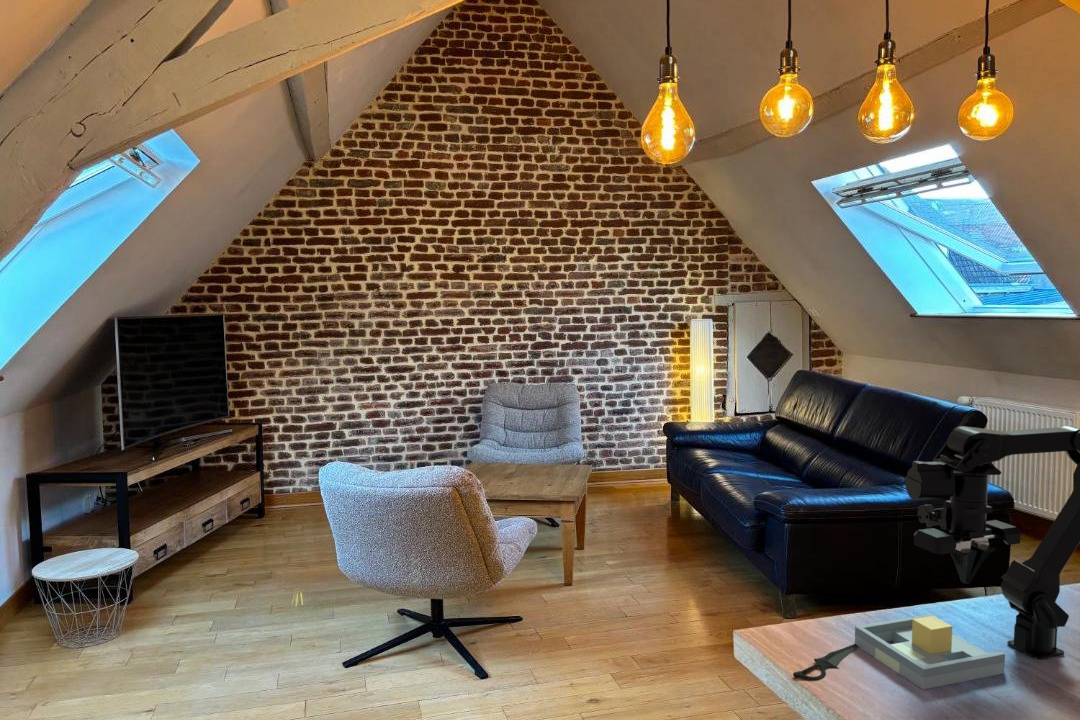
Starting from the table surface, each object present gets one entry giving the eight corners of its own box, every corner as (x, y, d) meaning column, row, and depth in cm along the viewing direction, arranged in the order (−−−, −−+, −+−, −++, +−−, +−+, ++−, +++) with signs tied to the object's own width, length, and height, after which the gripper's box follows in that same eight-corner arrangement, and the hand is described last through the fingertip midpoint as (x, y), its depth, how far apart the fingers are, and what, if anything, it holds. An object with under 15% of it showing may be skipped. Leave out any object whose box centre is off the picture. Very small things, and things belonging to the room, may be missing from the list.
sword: (809, 687, 132) (810, 682, 132) (788, 675, 135) (788, 670, 135) (891, 642, 148) (892, 638, 148) (870, 633, 151) (871, 628, 151)
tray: (929, 631, 151) (929, 613, 150) (1004, 673, 134) (1005, 653, 134) (854, 644, 146) (855, 626, 146) (923, 689, 130) (923, 669, 129)
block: (932, 639, 143) (932, 615, 143) (951, 650, 139) (952, 626, 138) (911, 643, 142) (912, 619, 141) (930, 654, 138) (931, 629, 137)
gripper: (973, 482, 150) (970, 561, 151) (892, 491, 145) (890, 573, 146) (1024, 498, 139) (1020, 582, 141) (939, 508, 134) (936, 596, 136)
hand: (965, 582), depth 141 cm, fingers closed
